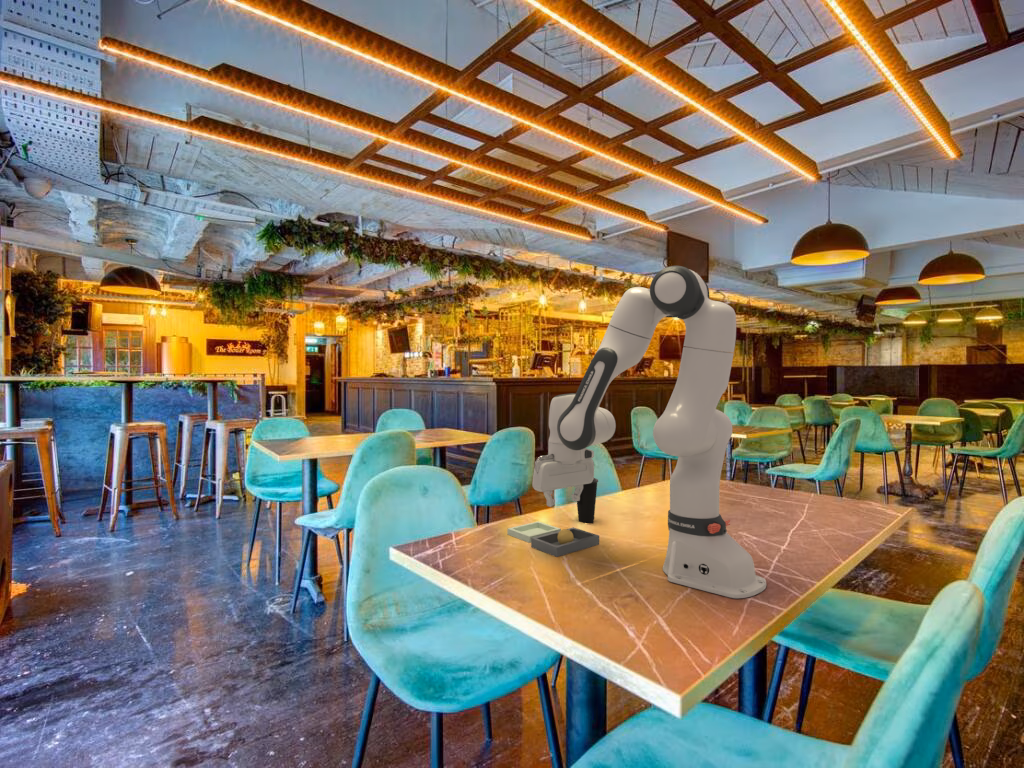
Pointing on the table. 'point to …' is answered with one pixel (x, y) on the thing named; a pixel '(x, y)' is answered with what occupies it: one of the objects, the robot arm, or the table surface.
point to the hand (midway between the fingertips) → (563, 503)
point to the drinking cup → (587, 502)
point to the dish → (553, 547)
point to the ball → (565, 536)
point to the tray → (531, 530)
